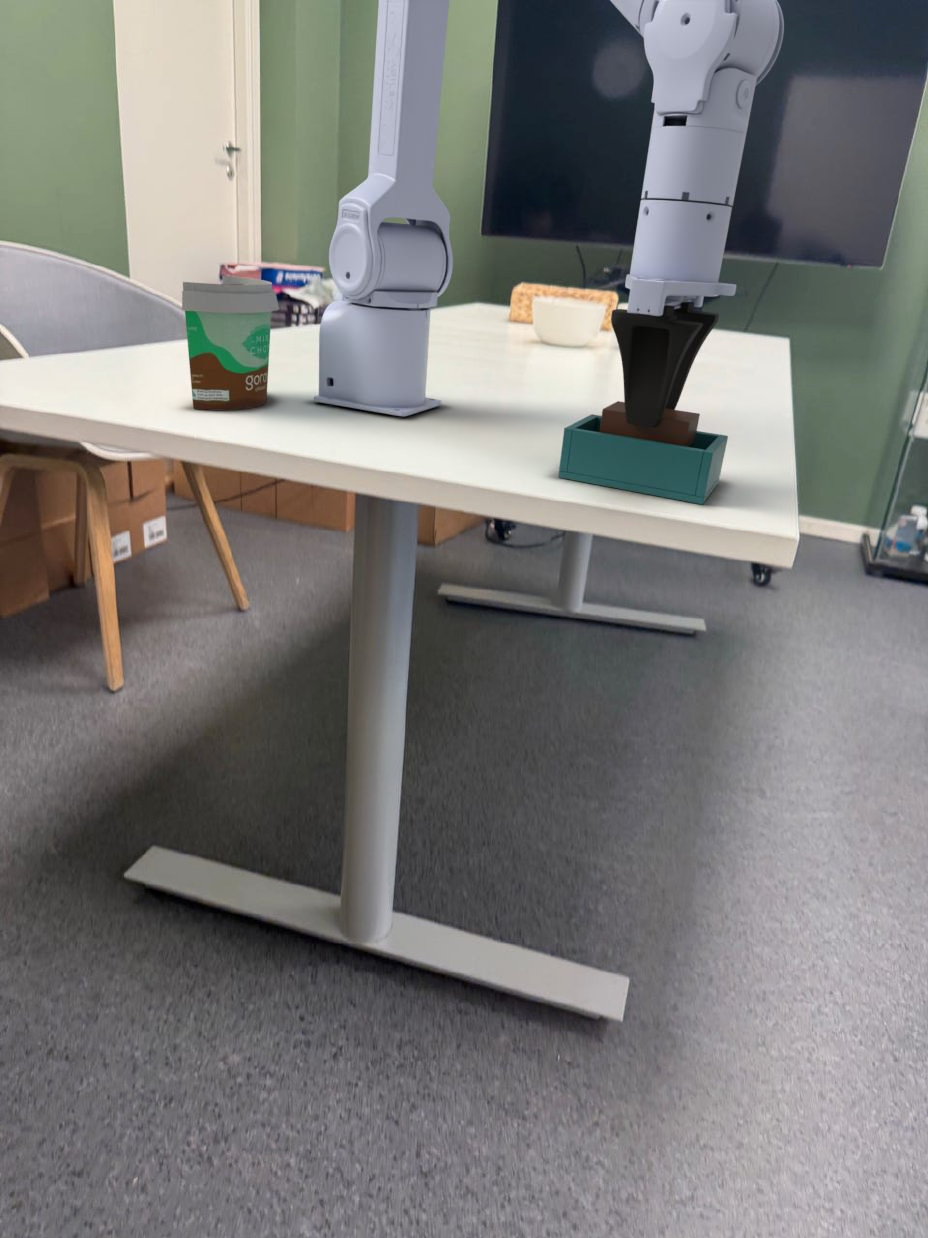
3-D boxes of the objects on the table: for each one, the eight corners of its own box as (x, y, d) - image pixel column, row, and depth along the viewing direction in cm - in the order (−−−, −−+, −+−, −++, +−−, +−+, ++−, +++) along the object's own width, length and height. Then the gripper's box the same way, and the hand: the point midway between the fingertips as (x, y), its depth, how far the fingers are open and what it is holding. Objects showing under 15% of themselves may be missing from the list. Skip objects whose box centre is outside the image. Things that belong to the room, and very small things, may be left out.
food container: (262, 418, 70) (259, 288, 66) (187, 411, 70) (180, 281, 66) (292, 392, 81) (292, 280, 77) (228, 387, 81) (224, 274, 77)
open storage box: (557, 477, 60) (564, 428, 59) (585, 459, 66) (591, 413, 64) (702, 504, 57) (713, 452, 55) (718, 483, 62) (728, 435, 61)
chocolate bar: (598, 437, 59) (602, 408, 58) (613, 428, 63) (617, 400, 62) (684, 451, 57) (689, 422, 56) (694, 441, 61) (700, 413, 60)
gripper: (734, 200, 46) (687, 447, 52) (763, 214, 58) (723, 413, 64) (609, 192, 49) (577, 428, 54) (662, 207, 61) (632, 399, 67)
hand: (649, 419), depth 59 cm, fingers closed on chocolate bar, 4 cm apart
